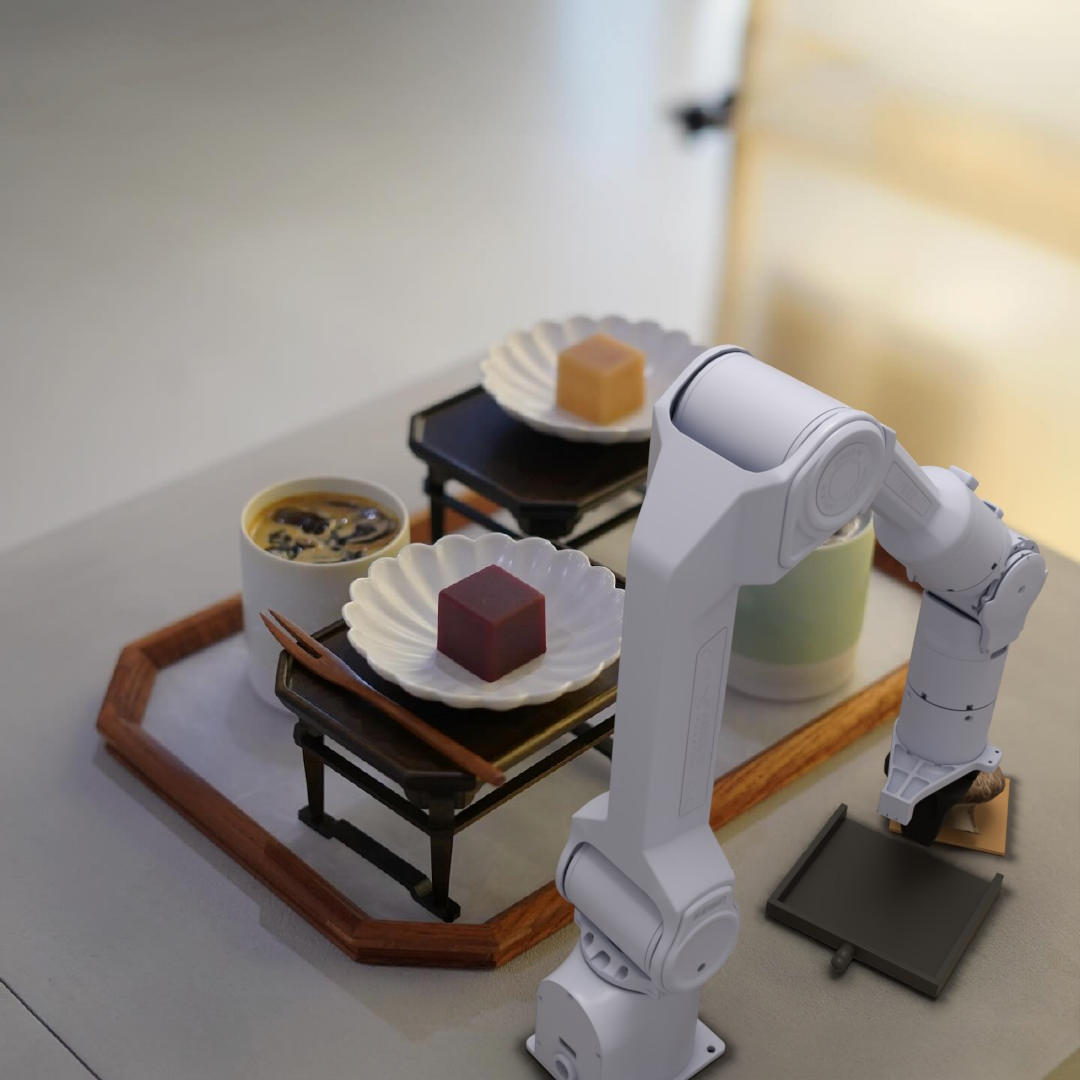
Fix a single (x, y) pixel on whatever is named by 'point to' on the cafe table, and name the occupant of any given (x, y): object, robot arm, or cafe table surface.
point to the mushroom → (975, 801)
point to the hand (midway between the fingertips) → (918, 836)
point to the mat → (979, 827)
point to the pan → (883, 903)
